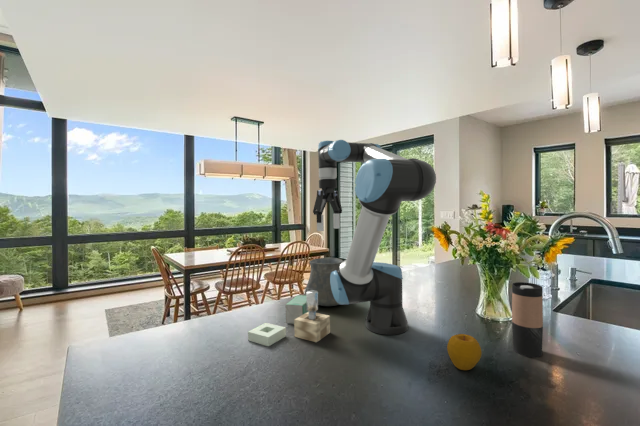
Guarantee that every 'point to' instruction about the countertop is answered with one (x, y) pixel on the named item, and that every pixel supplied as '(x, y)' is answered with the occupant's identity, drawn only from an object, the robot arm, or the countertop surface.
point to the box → (296, 308)
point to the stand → (266, 334)
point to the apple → (464, 351)
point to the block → (312, 327)
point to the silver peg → (312, 303)
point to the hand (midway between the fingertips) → (328, 229)
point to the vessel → (323, 279)
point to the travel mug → (527, 319)
